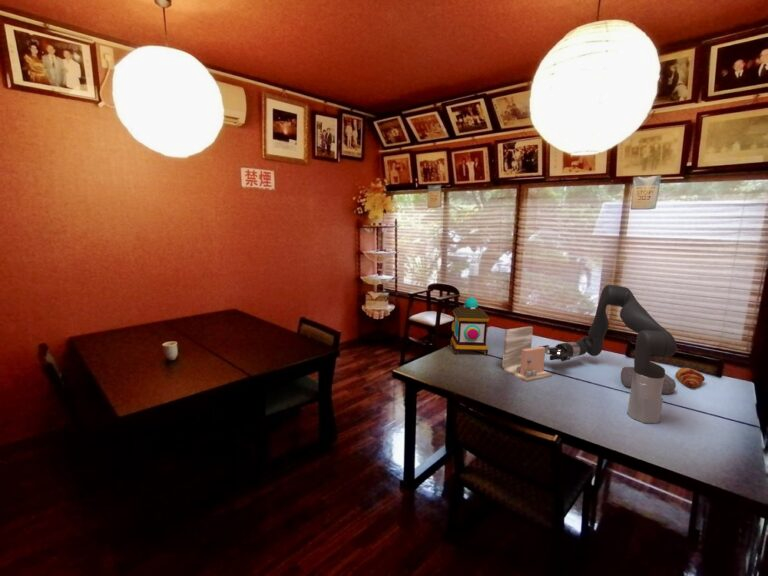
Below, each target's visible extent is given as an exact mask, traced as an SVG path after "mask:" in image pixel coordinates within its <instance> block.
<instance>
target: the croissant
mask: <svg viewBox="0 0 768 576" xmlns="http://www.w3.org/2000/svg"><path fill="white" fill-rule="evenodd" d="M675 378H676V379H677V380H678V382H680V383H681V384H683V385H684V386H686V387H688V388H698V387H700V386H701V385H703V382H704V381H705V380H706V378H705V376H704V374H702V373H701V372H699V371H697V369H692V368H689V367H685V366H684V367H681V368H679V369H678V370H677V371H676V372H675Z"/></svg>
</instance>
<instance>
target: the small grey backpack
mask: <svg viewBox="0 0 768 576" xmlns="http://www.w3.org/2000/svg"><path fill="white" fill-rule="evenodd" d="M633 372H634V366H623V367H622V369H621V371H620V379H621V383H622V385H623V386H624V387H627V388H630V389H631V385H632V378H633ZM676 388H677V385H676V381H675V379H673V377H671V376H670V375H668V374H667V373H665V376H664V382H663V387H662V393H661V395H662V394H663V395H669V394H673V392H674V391H675V389H676Z"/></svg>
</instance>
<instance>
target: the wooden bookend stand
mask: <svg viewBox="0 0 768 576" xmlns="http://www.w3.org/2000/svg"><path fill="white" fill-rule="evenodd" d="M504 330H505V331H504V341H503V342H504V343H503V353H502V354H503V355H502V367H501V369H502V371H503V370H504V371H505V372H507V373H509V374H510V375H512V376H514V377H516V378H518V379H519V380H521V381H523V382H524V383H525V382H526V383H528V382H532V381H537V380H538V381H539V380H542V379H547V378H551V377H553V374H552V373H550V372H547V371H545V370H544V369H543V372H541V373H537V371H536V370H530V371H525V376H523V375H521V374H520V368H521V357H522V349H528V348H532V342H533V341H532V340H533V332H534V327H533V326H522V327H515V328H508V329H504Z"/></svg>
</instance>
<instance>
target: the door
mask: <svg viewBox="0 0 768 576" xmlns="http://www.w3.org/2000/svg"><path fill="white" fill-rule="evenodd" d="M539 346H540V347H539ZM539 346H535V347H531V348H528V349H522V357H521V368H520V374H521V375H523V376H525V371H530V370H536V371H537V373H541V372H543V370H544V366H545V359H546V353H545V349H546V348H545V347H542V346H543V345H539Z"/></svg>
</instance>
